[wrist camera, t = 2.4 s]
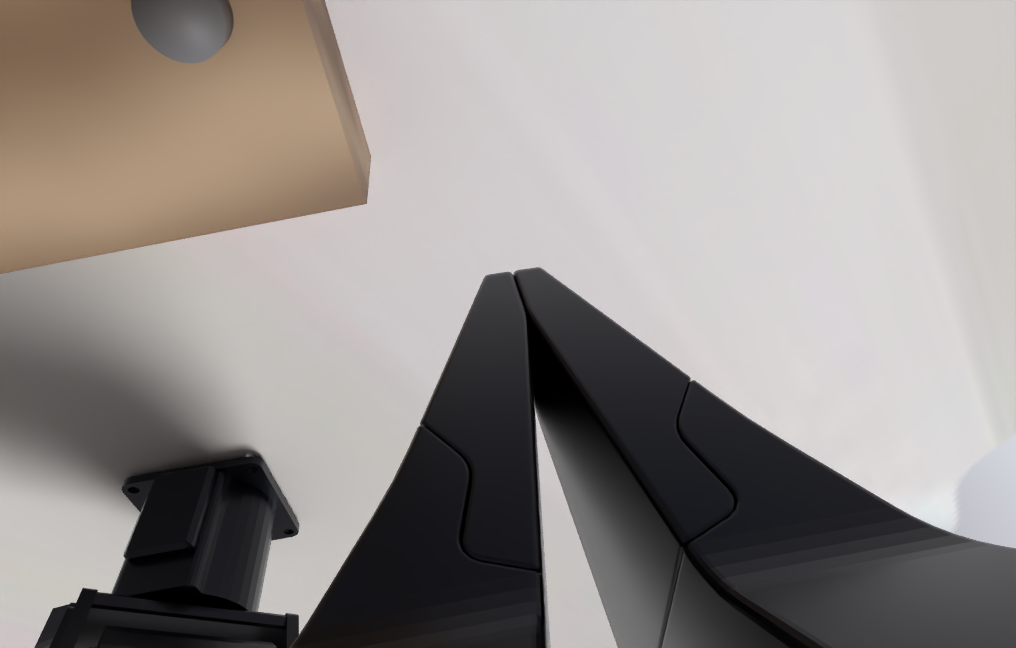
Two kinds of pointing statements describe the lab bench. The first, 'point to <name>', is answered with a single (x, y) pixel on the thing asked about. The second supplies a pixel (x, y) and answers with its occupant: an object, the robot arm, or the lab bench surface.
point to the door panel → (168, 122)
